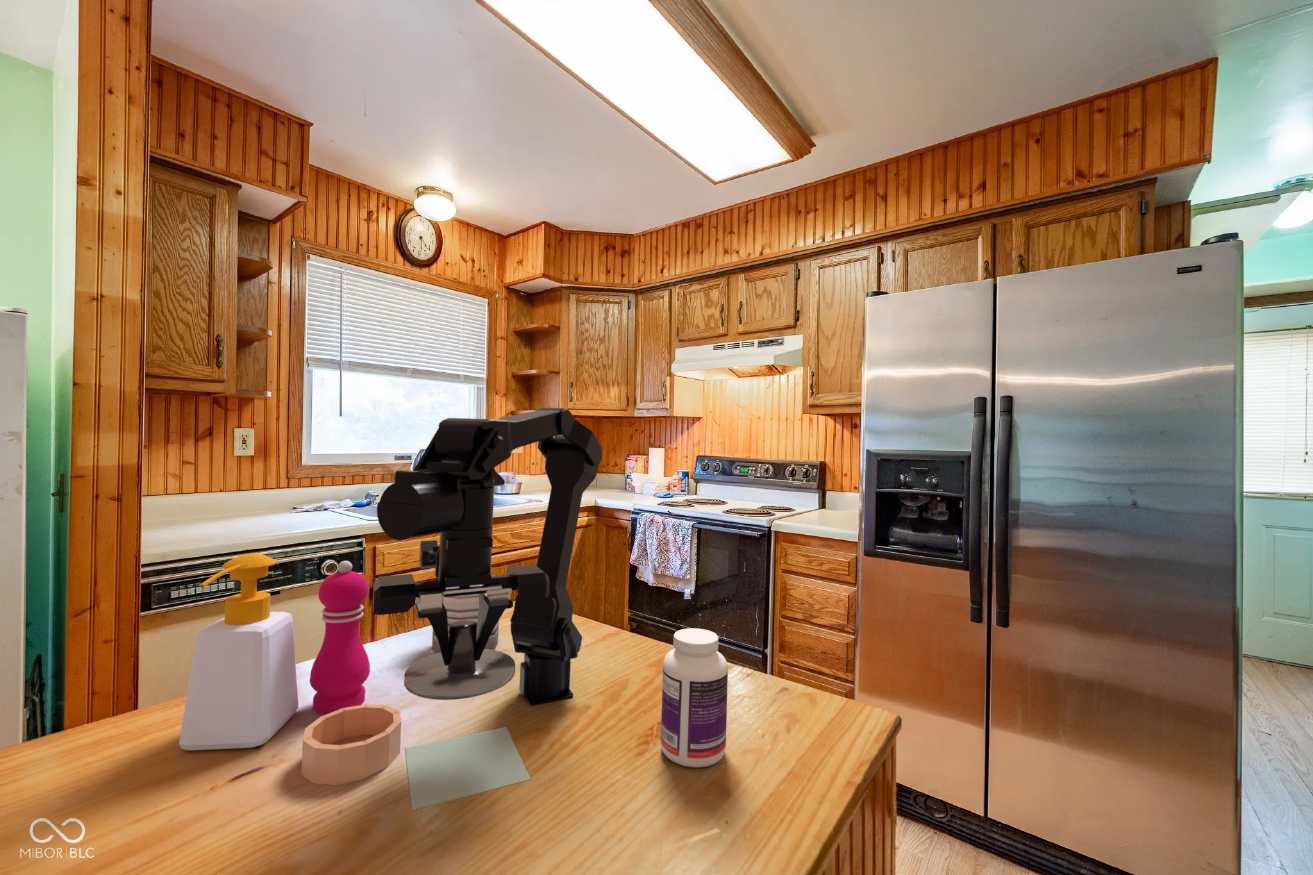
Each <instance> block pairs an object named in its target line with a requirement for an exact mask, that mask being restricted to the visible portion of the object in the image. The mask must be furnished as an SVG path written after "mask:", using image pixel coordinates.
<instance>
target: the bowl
mask: <svg viewBox="0 0 1313 875" xmlns="http://www.w3.org/2000/svg"><path fill="white" fill-rule="evenodd" d="M401 734H402V717H401V711H400V710H398V709H396V708H395V707H392V706H390V705H388V704H375V703H374V704H372V703H365V704H364V703H363V704H362V705H358V706H352V707H347V708H342V709H339V710H337V711H334V712H332V713H329V714H327V715H321V716H320V717H318V718H316V720H314V722H311V724H309V725H308V726H306V728H304V733H303V739H302V748H301V751H302V753H301V772H300V773H301V776H302V777H304V778H305V779H307V780H308V781H309V782H310V783H313V784H314V785H315V784H316V785H317V784H318V785H319V784H320V785H334V786H335V785H336V786H338V785H343V784H347V783H352V782H356V781H361V780H364V779H367V778H369V777H372V776H373V775H375V774H377V773H379V772H381V771H382V770H385V769H386V768H389V766H391V764H393V762H394V761H395V760H396V759H397V758H398V757H399V756H400V754H401V741H402V740H401V739H402V737H401V736H402V735H401Z"/></svg>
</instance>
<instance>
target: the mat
mask: <svg viewBox="0 0 1313 875" xmlns="http://www.w3.org/2000/svg"><path fill="white" fill-rule="evenodd" d="M404 750H405V751H404V752H405V759H406V766H407V768H406V769H407V776H408V784H409V785H408V786H409V796H410V803H411V811H412V812H413V811H416V810H420V809H425V808H429V807H431V806H436V805H440V804H443V803H447V802H450V801H451V802H452V801H454V800H458V799H463V798H466V797H469V796H473V795H478V794H483V793H485V792H489V791H494V790H496V789H500V788H505V787H508V786H512V785H515V784H519V783H523V782H528V781H531V777H530V775H529V773H528V771H527V769H526V766H525V763H524V761H523V759H522V757H521V755H520V752H519V751H518V749H517V747H516V744H515V743H514V740H513V738H512V736H511V733H510V731H509V729H508V727H507V726H504V727H498V728H495V729H490V730H486V731H485V730H484V731H481V732H475V733H472V734H466V735H462V736H461V735H460V736H457V737H453V738H447V739H444V740H443V739H442V740H437V741H433V742H428V743H424V744H417V745H414V746H409V747H405V748H404Z"/></svg>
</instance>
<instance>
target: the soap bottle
mask: <svg viewBox="0 0 1313 875" xmlns="http://www.w3.org/2000/svg"><path fill="white" fill-rule="evenodd" d="M276 563H277V561H276V560H275V559H273V557H271V556H268V555H266V554H265V555H264V554H260V553H255V552H254V553H253V552H251V553H245V554H241V555H238V556H235V557H233V558H232V559H230V560H228V561H227V562H225V563H224V564H223V565H222V569H223V570H221V571H219V572H218V573H217V572H216V574H214V575H212V576H211V577H209V578H207V579H206V580H205V581H203V582H202V583H200V584H199V585H198V586H199V587H200V588H205V587H207V586H208V585H210V584H212V583H213V582H214V581H215V580H217V579H219V578H221V577H222V576H224V575H226V574H228V573H230V574H229V579H230V580H232V581H240V583H241V584H240V593H237V594H233V595H231V596H230V595H229V596H227V597H226V598H225V599H224V600H225V601H224V603H225V604H224V617H223V618H220V619H219V620H217V621H214V622H213V623H212V624H209V625H207V626H206V627H205V626H204V627H203V628H201V629H200V630H199V631H198V634H197V636H196V638H195V643H194V649H193V654H192V655H193V656H192V661H191V666H190V667H191V668H190V674H189V681H188V685H187V686H188V687H187V692H186V699H185V703H184V704H185V705H184V712H183V717H182V723H181V730H180V734H179V735H180V736H179V742H178V745H179V746H180V748H181V749H182V750H185V751H205V750H225V749H226V750H227V749H228V750H230V749H247V748H248V749H249V748H255V747H258V746H262V745H263V744H266V743H268V741H269V740H270V739H271V738H273V736H274V735H275V734H276V733H278V732H279V730H280V729H281V728H282V727H283V726H284V725H285V724H286V723H288V721H290V719H291V718H292V717H294V715H295V714H296V712H297V710H298V709H299V696H298V695H299V694H298V681H297V667H296V666H297V664H296V651H295V650H296V649H295V638H294V637H295V634H294V633H295V632H294V621H293V616H292V613H289V612H286V611H271V593H270V592H266V591H257V587H258V586H257V585H258V579H262V578H265V577H267V576H269V567H272V566H274V565H275V564H276Z"/></svg>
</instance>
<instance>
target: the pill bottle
mask: <svg viewBox="0 0 1313 875" xmlns="http://www.w3.org/2000/svg"><path fill="white" fill-rule="evenodd" d="M672 641H673V642H672V643H673V644H672V645H673V649H671V650H669V652H667V653H666V655H665V656H664V659H663V661H662V688H661V719H660V720H661V723H660V726H661V727H660V747H661V750H662V752H663V754H664V755H665V757H666V758H668V760H670V761H672V762H673V763H675V764H677V765H679V766H683V767H688V768H704V767H710V766H712V765H715V764H716V763H718V762H719V761H720V760H721V759H722V758H723V756H724V754H725V753H726V748H727V721H728V720H727V718H728V715H727V714H728V680H729V676H728V675H729V666H728V662H727V659H726V658H725V656H724V655H723V654H722V653H721V652H719V635H717V633H716V632H713V631H711V630H710V629H709V630H707V629H704V628H696V627H695V628H692V627H689V628H683V629H679V630H677V631H675V633H673V640H672Z"/></svg>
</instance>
